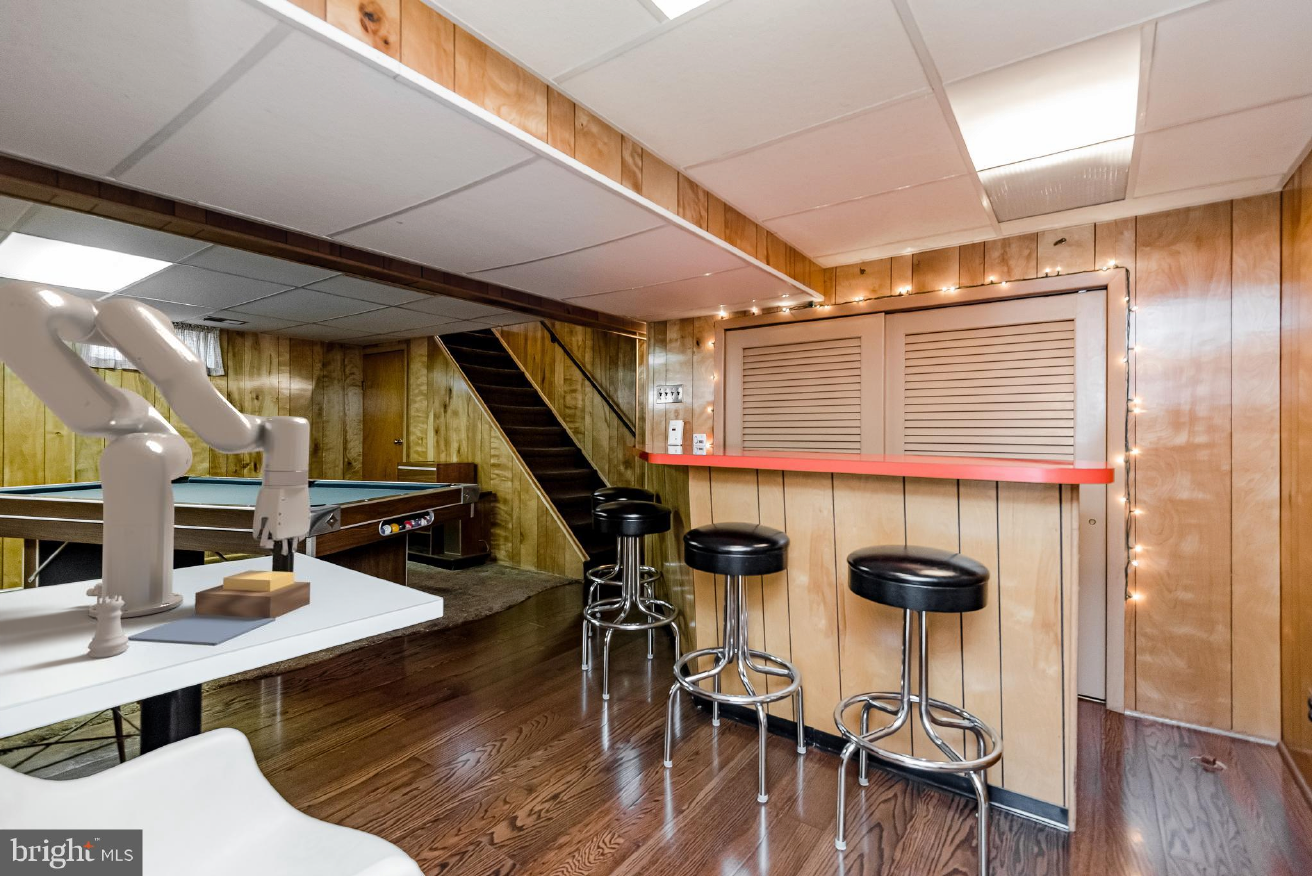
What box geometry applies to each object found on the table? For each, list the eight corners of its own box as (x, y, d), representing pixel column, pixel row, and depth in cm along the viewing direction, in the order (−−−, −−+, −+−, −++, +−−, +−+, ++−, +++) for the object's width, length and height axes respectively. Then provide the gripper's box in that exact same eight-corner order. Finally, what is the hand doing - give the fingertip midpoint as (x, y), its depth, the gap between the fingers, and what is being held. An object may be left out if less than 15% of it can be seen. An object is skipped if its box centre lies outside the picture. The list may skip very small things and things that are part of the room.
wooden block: (194, 615, 101) (195, 592, 101) (240, 599, 111) (241, 579, 111) (270, 619, 100) (270, 596, 100) (309, 603, 110) (310, 582, 110)
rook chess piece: (105, 647, 85) (106, 593, 85) (137, 647, 86) (138, 593, 86) (77, 659, 81) (78, 602, 81) (111, 659, 81) (112, 602, 81)
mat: (126, 639, 89) (126, 637, 89) (194, 615, 101) (194, 614, 101) (216, 644, 87) (216, 642, 87) (275, 620, 99) (275, 618, 99)
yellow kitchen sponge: (223, 589, 104) (223, 577, 104) (249, 580, 110) (249, 570, 110) (270, 591, 103) (270, 580, 103) (294, 583, 109) (294, 572, 109)
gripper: (294, 476, 120) (291, 565, 120) (236, 481, 105) (233, 582, 105) (328, 477, 119) (326, 566, 119) (275, 483, 104) (272, 584, 104)
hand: (282, 573), depth 112 cm, fingers closed
